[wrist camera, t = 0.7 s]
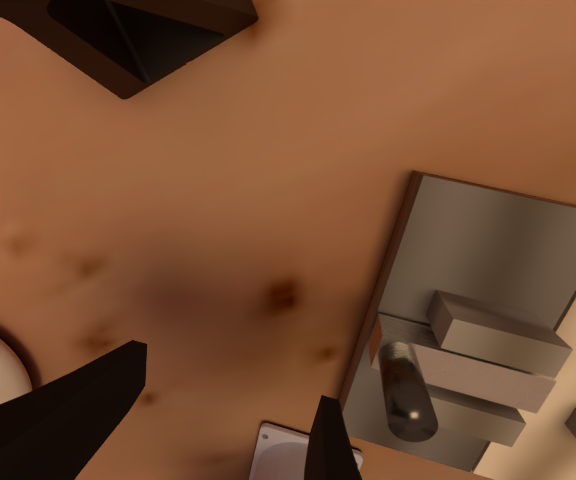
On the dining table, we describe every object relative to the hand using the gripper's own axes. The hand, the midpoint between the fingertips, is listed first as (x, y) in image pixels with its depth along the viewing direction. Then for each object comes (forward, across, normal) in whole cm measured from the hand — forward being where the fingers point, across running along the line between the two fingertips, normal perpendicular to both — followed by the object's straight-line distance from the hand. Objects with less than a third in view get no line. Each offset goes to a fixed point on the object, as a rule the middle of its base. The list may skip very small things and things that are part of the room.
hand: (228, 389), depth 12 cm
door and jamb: (+9, -15, 0) cm, 18 cm away
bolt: (+7, -10, 0) cm, 12 cm away
